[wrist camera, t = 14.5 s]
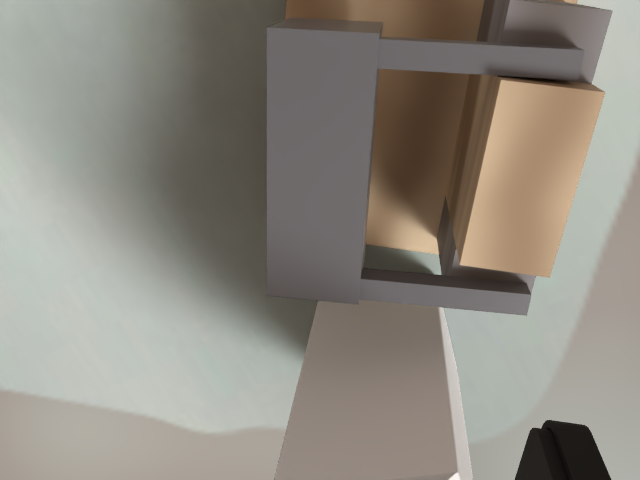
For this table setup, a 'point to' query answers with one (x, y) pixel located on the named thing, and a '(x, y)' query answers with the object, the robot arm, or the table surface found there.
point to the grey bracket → (362, 157)
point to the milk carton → (377, 398)
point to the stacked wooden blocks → (478, 135)
